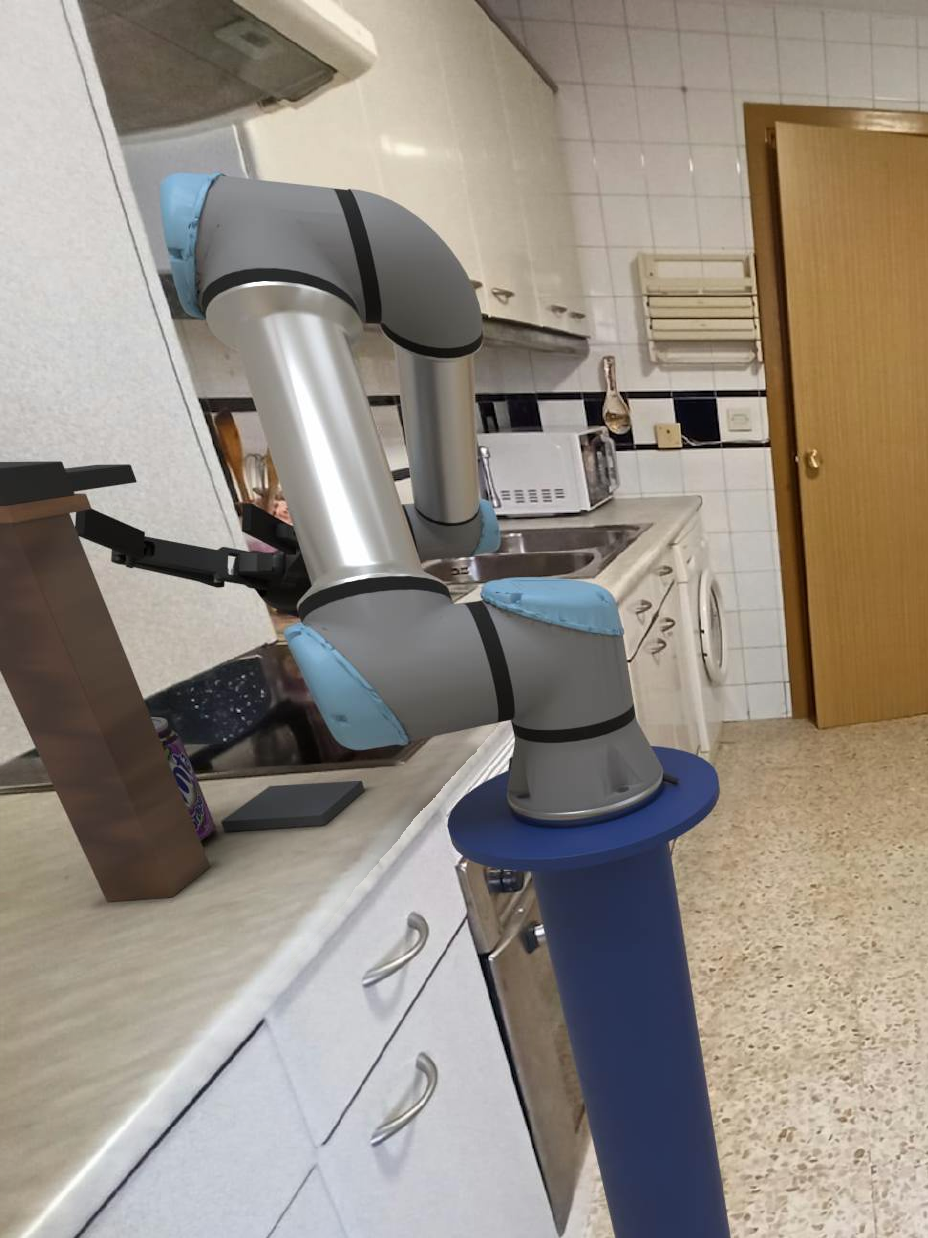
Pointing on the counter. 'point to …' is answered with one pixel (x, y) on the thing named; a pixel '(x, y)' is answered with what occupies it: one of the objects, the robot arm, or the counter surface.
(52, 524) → the stand
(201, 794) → the beverage can
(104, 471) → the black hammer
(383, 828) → the counter surface
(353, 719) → the robot arm
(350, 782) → the base pad
